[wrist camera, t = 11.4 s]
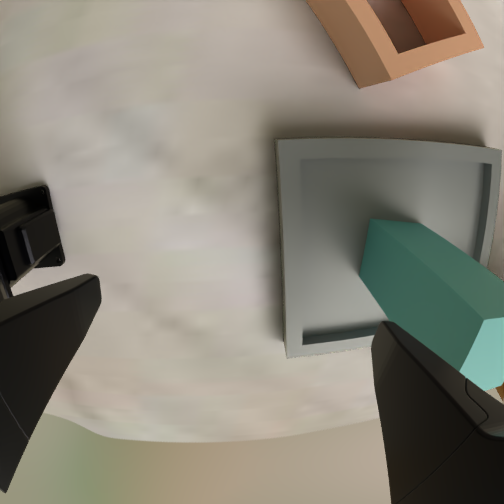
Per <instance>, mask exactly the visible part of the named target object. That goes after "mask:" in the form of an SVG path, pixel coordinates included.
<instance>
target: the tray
mask: <svg viewBox="0 0 504 504" xmlns="http://www.w3.org/2000/svg"><path fill="white" fill-rule="evenodd" d="M274 140H275V155H276V171H277V187H278V205H279V224H280V245H281V268H282V295H283V326H284V346H285V351H286V357H287V358H296V357H305V356H313V355H321V354H328V353H335V352H342V351H349V350H355V349H361V348H367V347H371V344H372V340H373V338H374V335H375V333H376V330H377V328H378V325H379V323H380V322H381V321H389V319H388V318H387V316H386V315H385V313H384V312H383V310H382V309H381V307H380V306H379V304H378V303H377V302H376V300H375V299H374V297H373V296H372V294H371V293H370V291H369V290H368V289H367V287H366V286H365V284H364V283H363V282H362V280H361V279H360V277H359V273H360V269H361V264H362V259H363V254H364V249H365V244H366V239H367V233H368V228H369V222H370V219H380V220H391V221H401V222H411V223H420V224H423V225H424V226H426V227H428V228H429V229H431V230H432V231H434V232H435V233H437V234H438V235H440V236H441V237H443V238H444V239H446V240H447V241H449V242H450V243H452V244H453V245H454V246H456V247H457V248H459V249H460V250H462V251H463V252H465V253H466V254H467V255H469V256H470V257H472V258H473V259H474V260H476V261H477V262H478V263H480V264H481V265H482V266H484V267H485V268H487V266H488V261H489V256H490V251H491V246H492V241H493V235H494V229H495V222H496V215H497V207H498V198H499V188H500V176H501V157H502V150H499V149H495V148H490V147H484V146H477V145H469V144H460V143H451V142H441V141H429V140H415V139H397V138H370V137H314V138H286V139H274Z"/></svg>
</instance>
